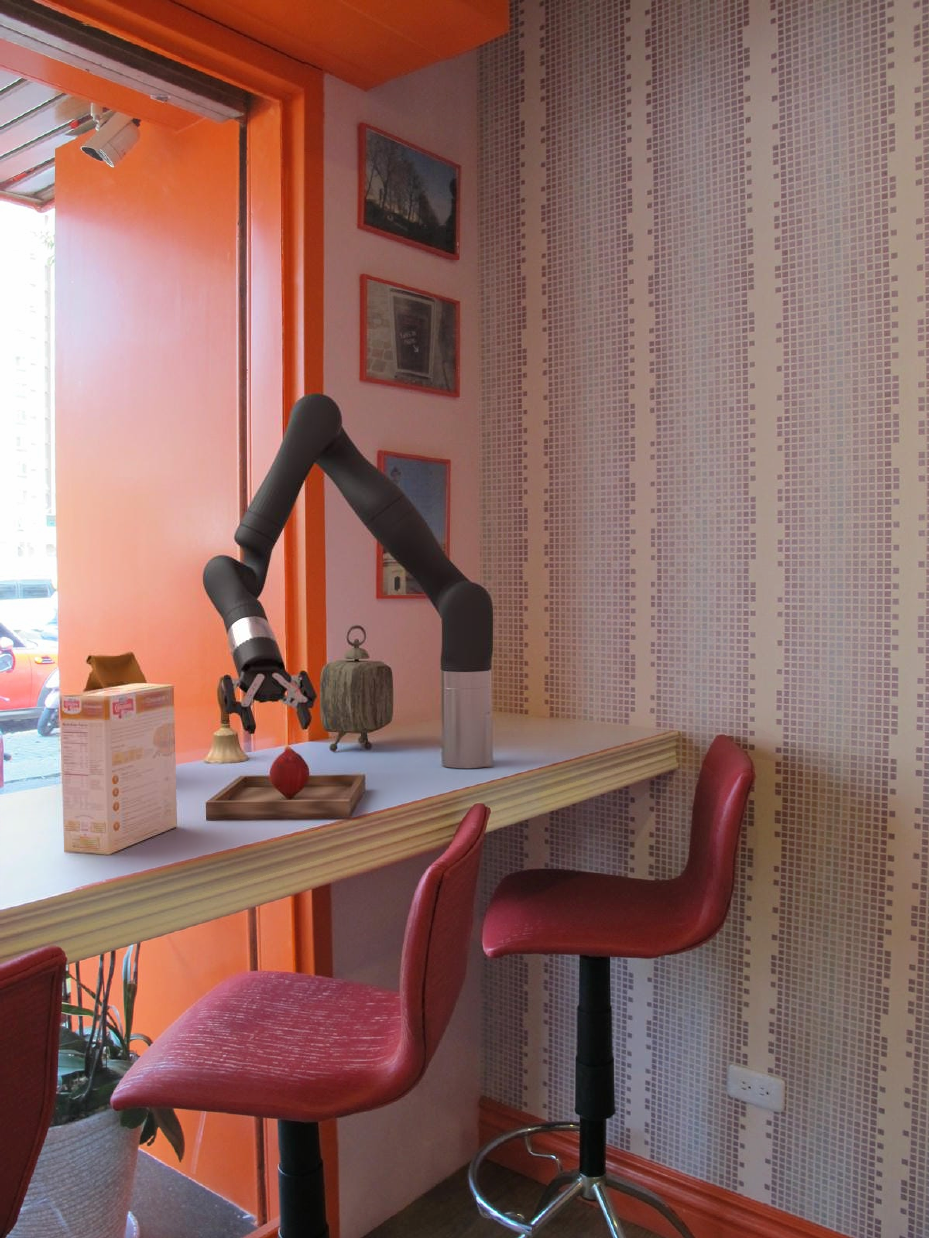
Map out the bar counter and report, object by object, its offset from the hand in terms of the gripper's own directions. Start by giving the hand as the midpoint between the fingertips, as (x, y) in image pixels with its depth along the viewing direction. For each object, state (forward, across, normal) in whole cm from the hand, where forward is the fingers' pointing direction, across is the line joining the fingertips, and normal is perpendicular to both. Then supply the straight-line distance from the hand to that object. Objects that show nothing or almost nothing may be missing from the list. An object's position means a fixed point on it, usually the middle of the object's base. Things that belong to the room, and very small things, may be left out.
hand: (280, 728), depth 150 cm
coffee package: (-11, -20, +26) cm, 35 cm away
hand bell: (-20, +3, +36) cm, 41 cm away
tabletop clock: (-19, +30, +35) cm, 49 cm away
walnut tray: (+11, 0, +4) cm, 12 cm away
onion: (+10, 0, +4) cm, 11 cm away
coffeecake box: (+17, -26, -2) cm, 31 cm away
